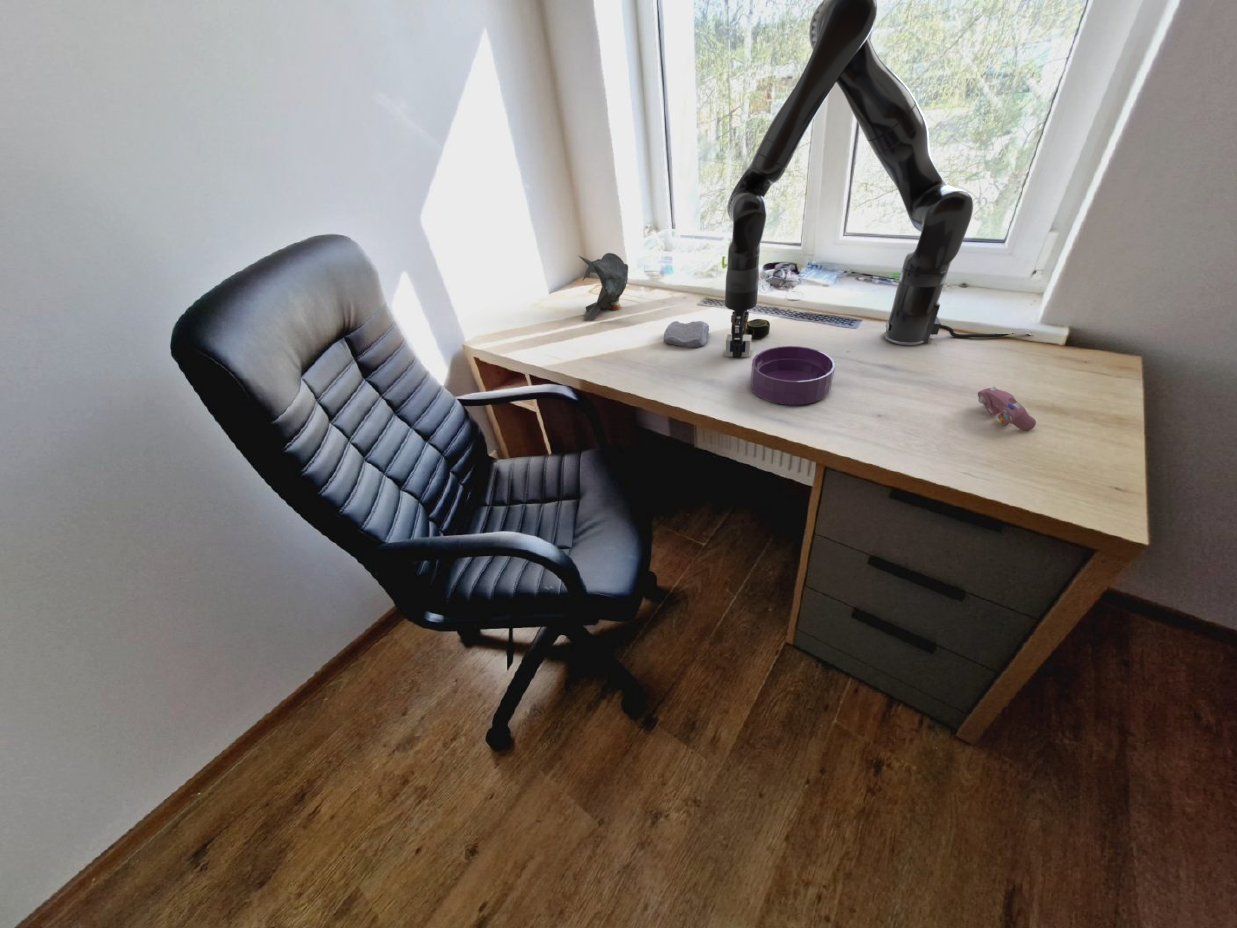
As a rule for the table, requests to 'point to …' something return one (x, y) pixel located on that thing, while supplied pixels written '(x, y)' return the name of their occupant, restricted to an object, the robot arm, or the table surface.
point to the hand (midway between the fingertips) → (737, 353)
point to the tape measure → (757, 328)
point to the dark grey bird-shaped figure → (607, 283)
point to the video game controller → (1006, 408)
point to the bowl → (792, 375)
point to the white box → (745, 346)
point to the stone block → (687, 334)
